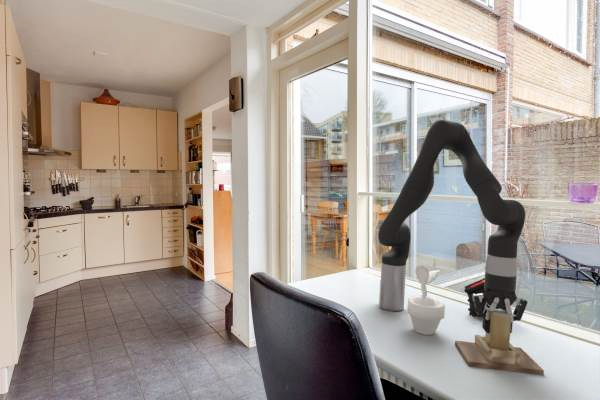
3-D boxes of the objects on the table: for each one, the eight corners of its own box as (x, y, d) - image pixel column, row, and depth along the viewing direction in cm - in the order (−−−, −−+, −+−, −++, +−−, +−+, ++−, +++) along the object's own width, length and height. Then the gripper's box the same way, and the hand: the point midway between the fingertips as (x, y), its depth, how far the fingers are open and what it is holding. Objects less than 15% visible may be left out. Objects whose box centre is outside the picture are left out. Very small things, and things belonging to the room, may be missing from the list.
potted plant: (425, 341, 105) (430, 260, 104) (398, 327, 116) (402, 252, 115) (454, 335, 111) (458, 257, 110) (425, 322, 121) (429, 251, 121)
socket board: (468, 365, 91) (469, 350, 91) (454, 344, 104) (455, 330, 104) (543, 375, 88) (544, 358, 88) (520, 351, 101) (521, 337, 101)
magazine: (510, 314, 128) (496, 277, 128) (478, 328, 128) (463, 291, 127) (504, 310, 132) (490, 275, 131) (473, 324, 132) (458, 288, 131)
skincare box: (483, 348, 99) (486, 306, 99) (500, 351, 98) (503, 308, 98) (491, 359, 93) (494, 314, 93) (508, 361, 92) (512, 316, 92)
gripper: (477, 272, 93) (473, 335, 94) (535, 277, 91) (531, 342, 91) (468, 266, 100) (465, 325, 101) (522, 271, 98) (518, 330, 99)
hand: (496, 332), depth 96 cm, fingers closed on skincare box, 4 cm apart
